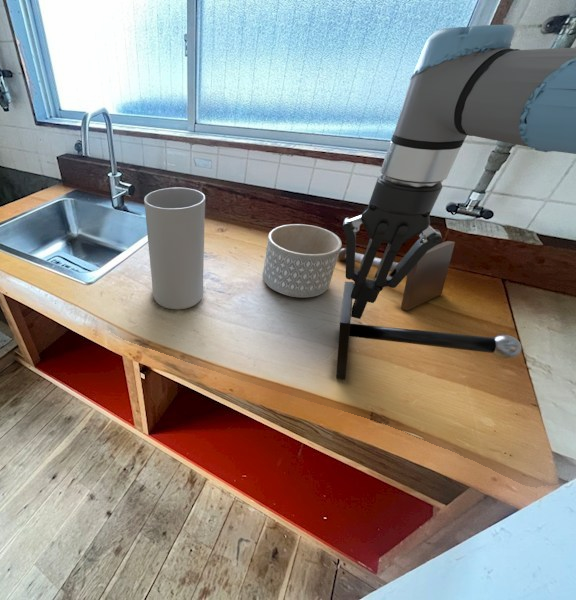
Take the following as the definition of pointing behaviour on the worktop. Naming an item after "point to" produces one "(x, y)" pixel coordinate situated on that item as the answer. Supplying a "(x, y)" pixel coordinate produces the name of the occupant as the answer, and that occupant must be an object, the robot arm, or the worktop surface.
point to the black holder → (415, 337)
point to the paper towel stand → (420, 274)
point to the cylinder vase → (176, 245)
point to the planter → (300, 259)
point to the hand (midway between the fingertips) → (356, 313)
